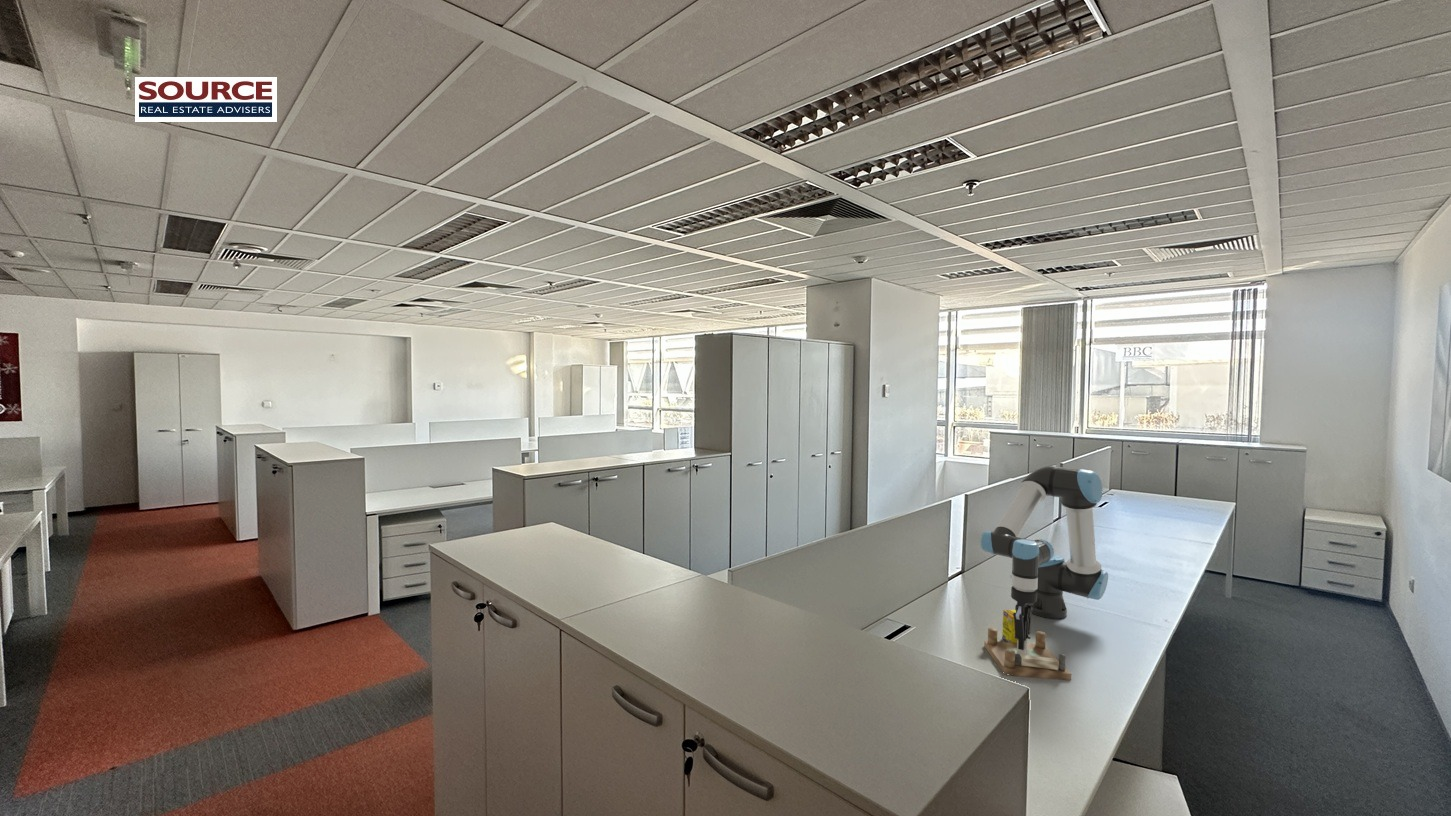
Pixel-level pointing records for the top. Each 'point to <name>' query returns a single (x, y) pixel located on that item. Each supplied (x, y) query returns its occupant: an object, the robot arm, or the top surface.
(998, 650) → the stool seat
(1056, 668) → the stool leg
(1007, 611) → the supplement box
